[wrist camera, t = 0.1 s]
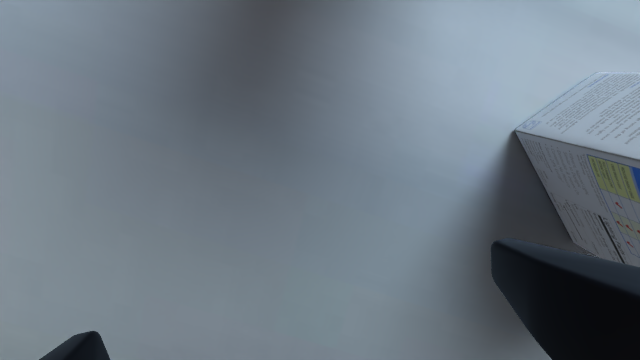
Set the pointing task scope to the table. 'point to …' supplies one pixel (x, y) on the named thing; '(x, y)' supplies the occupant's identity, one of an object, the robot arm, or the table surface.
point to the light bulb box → (593, 162)
